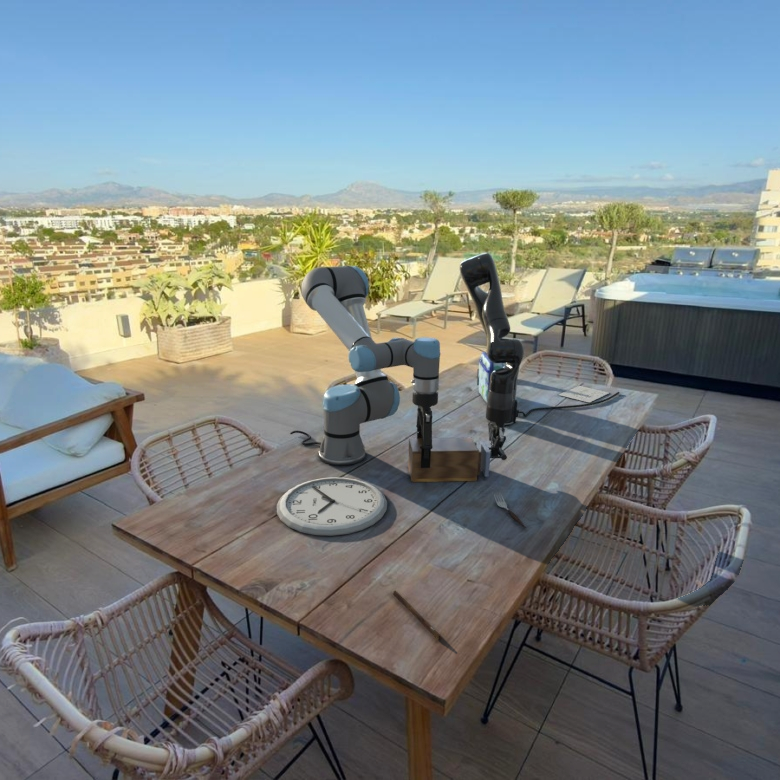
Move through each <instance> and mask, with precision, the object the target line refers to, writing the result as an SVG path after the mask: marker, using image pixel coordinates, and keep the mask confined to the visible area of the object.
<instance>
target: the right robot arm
mask: <svg viewBox="0 0 780 780" xmlns="http://www.w3.org/2000/svg"><path fill="white" fill-rule="evenodd" d="M459 273H460V275H461V279H462V281H463V284H464V285H465V288H466V290H467V291H468V293H469V296H470V298H471V300H472V303H473V305H474V308H475V311H476V314H477V318H478V320H479V322H480V325H481V327H482V329H483V332H484V335H485V338H486V352H487V356H488V358H489V360H490V361H491V362H493V363H506V364H505V365H504V367H502V368H500V369H497V370H494V371H493V372H492V373H491V377H490V386H489V393H488V398H487V403H486V407H485V408H486V410H485V419H486V420H488V421H489V422H487V426H488V428H487V429H488V441H489V442H490V443H489V444H490V447H491V450H489V451H490V452H491V454H490V456H499V448H502V449H503V447H504V444H505V442H506V440H507V436H506V435H504V434H505V432H506V426H511V425H513V424H516V423H517V418H519V416H520V415H519V414H522V415H523V417H527V416H528V415H529V414H530V413H531V412H535V411H539V410H542V411H544V410H545V411H546V410H558V409H569V408H581V407H588V406H593V405H597V404H602V403H604V402H606V401H609V400H611V399H612V398H614V397H616V396H617V395H619V394H620V393H621V392H619V391H617V392H616V393H614V394H612V395H610V396H609V397H607V398H604V399H601V400H598V401H593V402H590V403H584V404H573V405H562V406H561V405H560V406H549V407H534V408H531V409H529V410H528V411H527V412H524V411H521V410H519V409H518V399H517V388H518V378H519V374H520V366H521V363H522V361H523V358H524V355H525V348H524V347H525V346H524V344H523V342H522V341H521V340H520V339H518V338H505V337H507V336H509V334H510V332H511V324H510V322H509V318H508V315H507V312H506V309H505V305H504V301H503V293H502V288H501V283H500V279H499V278H500V277H499V273H498V269H497V266H496V263H495V260H494V258H493V256H492V255H491V254H490V253H489V252H484V253H480V254H478V255H475V256H473V257H470V258H467V259H465V260H463V261H462V262H460V264H459ZM487 283H488V284H489V285H488V286H489V287H488V291H485V290H483V289H482V288H481V287H480V286H483V285H486V284H487Z"/></svg>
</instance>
